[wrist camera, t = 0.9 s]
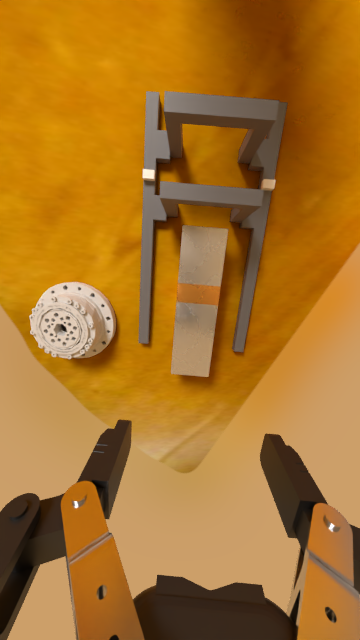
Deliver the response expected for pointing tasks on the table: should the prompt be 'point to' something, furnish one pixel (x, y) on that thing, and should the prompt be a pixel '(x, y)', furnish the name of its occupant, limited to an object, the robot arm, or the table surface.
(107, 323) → the mechanical component
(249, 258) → the collar frame
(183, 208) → the table surface
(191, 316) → the bar
